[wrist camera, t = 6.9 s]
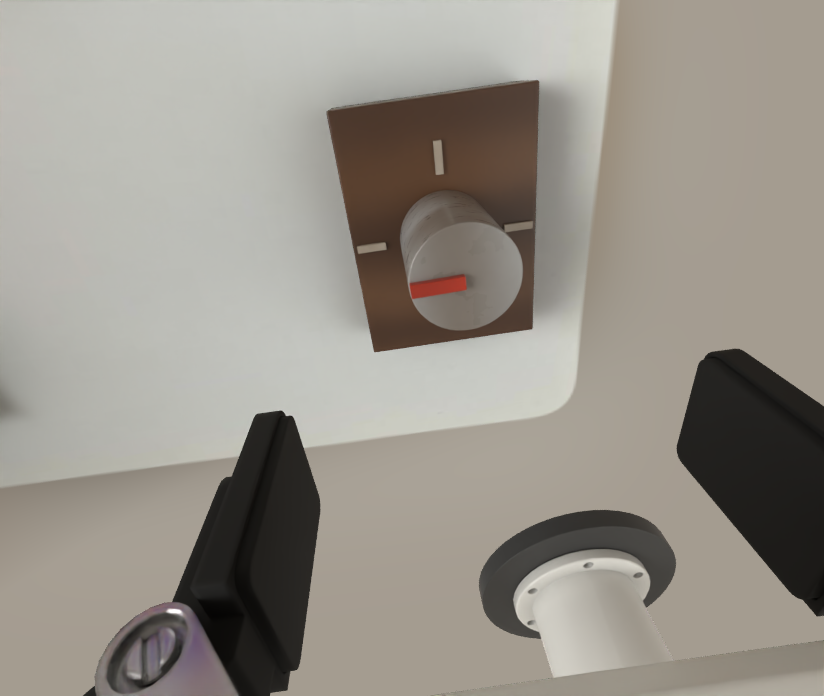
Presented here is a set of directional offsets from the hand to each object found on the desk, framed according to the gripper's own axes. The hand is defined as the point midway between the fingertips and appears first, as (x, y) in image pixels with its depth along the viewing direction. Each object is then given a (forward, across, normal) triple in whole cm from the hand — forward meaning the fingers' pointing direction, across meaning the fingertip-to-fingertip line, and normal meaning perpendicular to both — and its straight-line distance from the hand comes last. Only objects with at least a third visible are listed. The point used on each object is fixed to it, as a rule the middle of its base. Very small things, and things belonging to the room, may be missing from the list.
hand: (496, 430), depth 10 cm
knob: (+13, -1, -1) cm, 13 cm away
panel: (+16, -1, -1) cm, 16 cm away
